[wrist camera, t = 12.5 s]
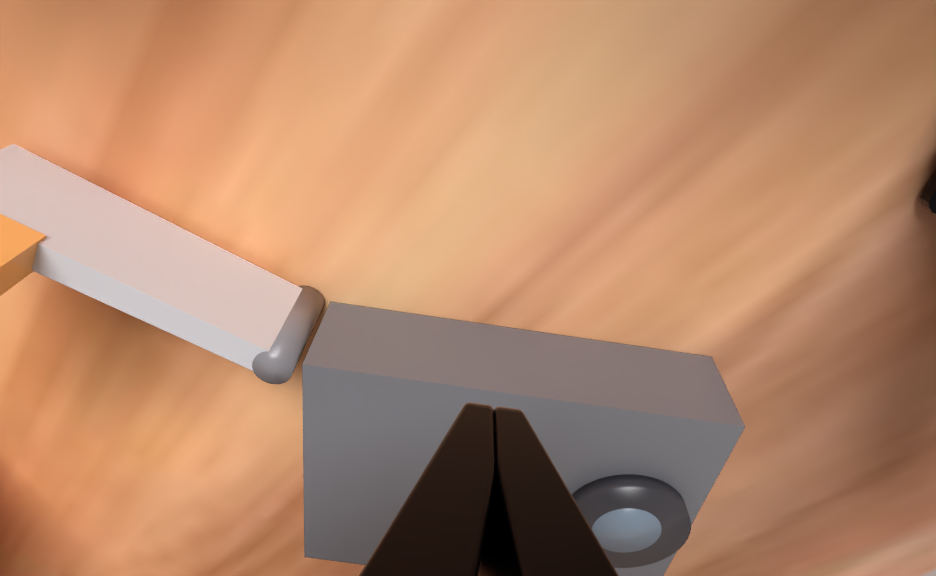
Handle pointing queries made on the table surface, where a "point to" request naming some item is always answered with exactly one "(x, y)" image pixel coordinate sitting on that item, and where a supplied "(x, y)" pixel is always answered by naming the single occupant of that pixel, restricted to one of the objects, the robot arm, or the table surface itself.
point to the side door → (148, 267)
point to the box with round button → (513, 386)
